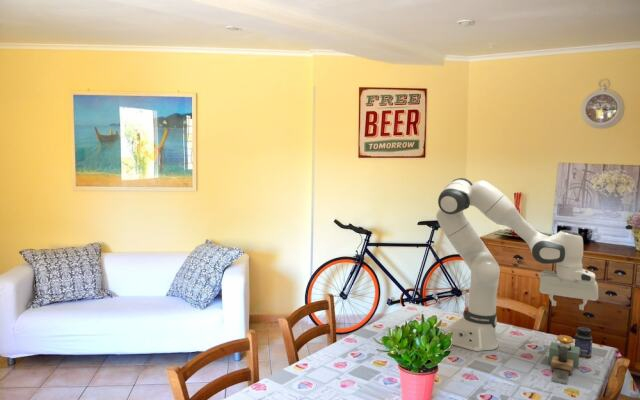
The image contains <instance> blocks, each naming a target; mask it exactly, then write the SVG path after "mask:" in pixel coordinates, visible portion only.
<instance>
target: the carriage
mask: <svg viewBox="0 0 640 400" xmlns="http://www.w3.org/2000/svg"><path fill="white" fill-rule="evenodd" d="M567 354H568V348H567V347H563V346H560V347H559V353H558V357H557V356H553V358H552V361H551V363H550V365H551V366H550V367H551V369H550V371H552V372H553V370H554V367H555V368H560V369H564V370H569V376H572V375H573V369H574V368H573V360H571V359H567Z"/></svg>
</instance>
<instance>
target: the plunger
mask: <svg viewBox="0 0 640 400" xmlns="http://www.w3.org/2000/svg"><path fill="white" fill-rule="evenodd" d="M556 337H557V338H556V340H557V341H559V343H560V346H563V347H567V348H568V351H570V346H571V344H573V343H574V338H573V337H572V336H570V335H565V334H560V335H559V334H558V335H557V336H556ZM560 346H559V347H560Z"/></svg>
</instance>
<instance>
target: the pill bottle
mask: <svg viewBox="0 0 640 400" xmlns="http://www.w3.org/2000/svg"><path fill="white" fill-rule="evenodd" d="M591 333H592V329H591V328H588V327H584V326H578V327H577V333H575V335H574V346H575V347H580V349H579V358H583V359H590V358H592V349H593V336H592V334H591Z"/></svg>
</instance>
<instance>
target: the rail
mask: <svg viewBox="0 0 640 400" xmlns="http://www.w3.org/2000/svg"><path fill="white" fill-rule="evenodd" d="M569 376H570V371H569V370H564V369H560V368H555V367H554V369H553V371H552V375H551V382H553V383H558V384H563V385H566V386H567V385H568V382H569Z"/></svg>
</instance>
